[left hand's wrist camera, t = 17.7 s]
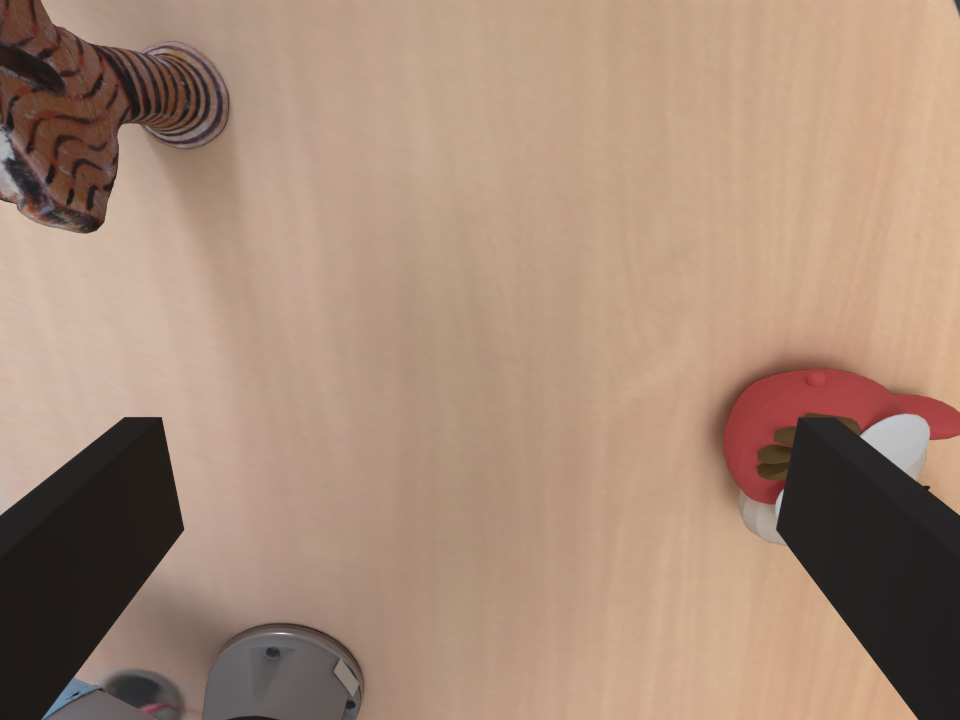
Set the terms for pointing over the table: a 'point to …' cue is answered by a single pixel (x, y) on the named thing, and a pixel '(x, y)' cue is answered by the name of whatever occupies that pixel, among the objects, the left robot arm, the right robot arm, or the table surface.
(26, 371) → the table surface
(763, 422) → the toy
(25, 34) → the figurine
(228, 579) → the table surface
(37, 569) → the left robot arm
